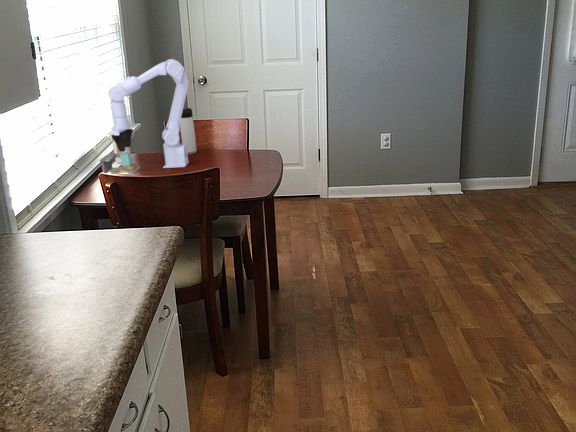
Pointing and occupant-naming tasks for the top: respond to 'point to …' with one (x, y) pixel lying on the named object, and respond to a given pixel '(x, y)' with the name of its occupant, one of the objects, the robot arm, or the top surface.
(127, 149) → the bath foam
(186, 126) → the travel mug
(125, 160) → the peg
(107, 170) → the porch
